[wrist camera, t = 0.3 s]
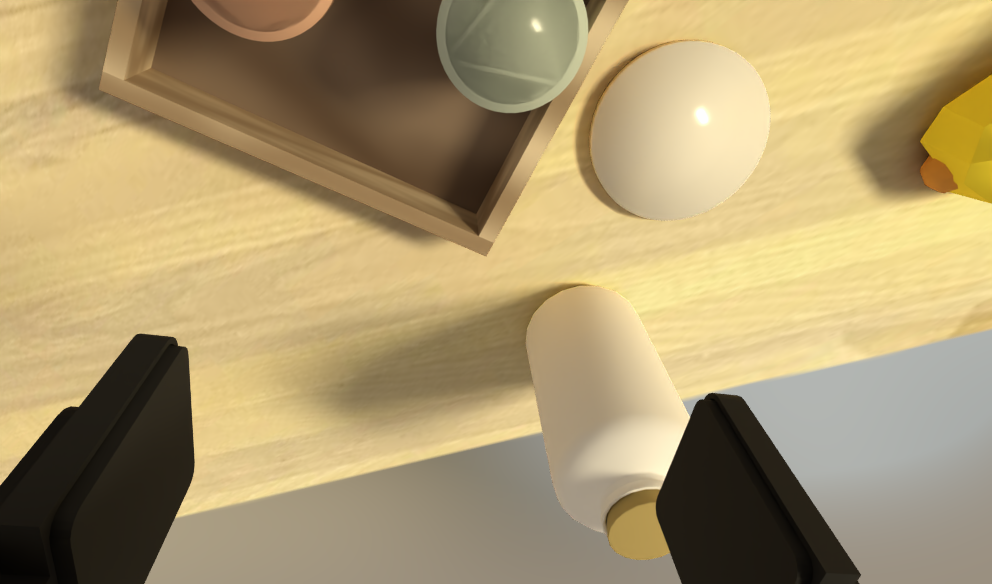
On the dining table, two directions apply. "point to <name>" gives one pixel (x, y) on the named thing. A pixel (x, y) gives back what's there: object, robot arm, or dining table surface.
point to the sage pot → (511, 49)
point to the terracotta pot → (265, 16)
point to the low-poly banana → (962, 145)
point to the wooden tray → (347, 106)
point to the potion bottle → (605, 415)
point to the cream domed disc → (679, 129)
